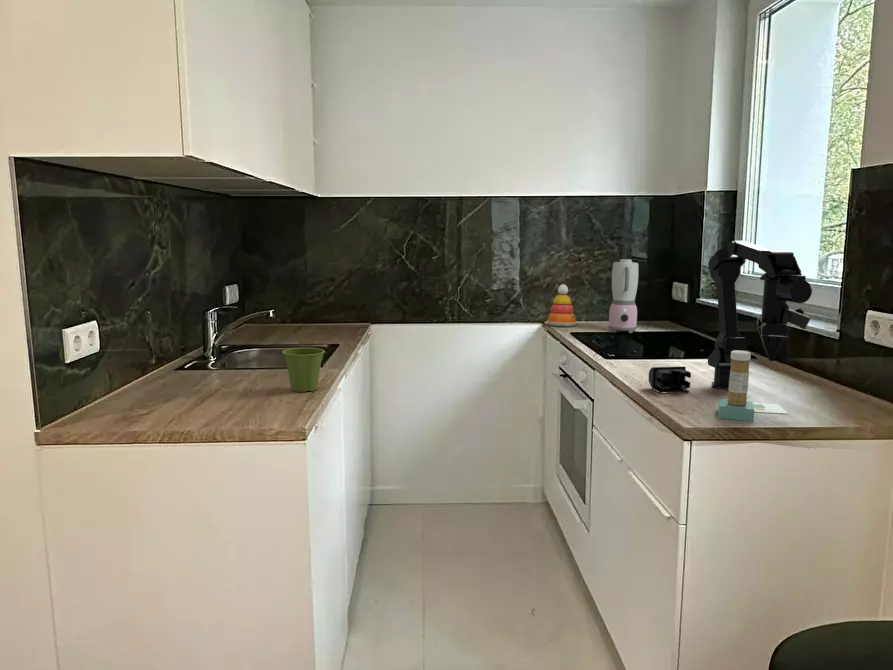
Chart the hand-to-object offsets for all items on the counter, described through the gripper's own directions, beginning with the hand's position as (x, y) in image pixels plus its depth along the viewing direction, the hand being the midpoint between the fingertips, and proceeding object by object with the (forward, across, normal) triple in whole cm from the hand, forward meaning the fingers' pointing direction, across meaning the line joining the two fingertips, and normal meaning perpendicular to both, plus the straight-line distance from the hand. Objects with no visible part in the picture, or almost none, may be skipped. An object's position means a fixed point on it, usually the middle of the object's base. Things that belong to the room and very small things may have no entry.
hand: (769, 357), depth 179 cm
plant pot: (+13, -32, +122) cm, 127 cm away
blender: (+13, +114, +50) cm, 125 cm away
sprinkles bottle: (+10, -14, +8) cm, 19 cm away
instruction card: (+13, -4, +2) cm, 14 cm away
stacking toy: (+13, +121, +79) cm, 145 cm away
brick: (+13, -14, +8) cm, 21 cm away
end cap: (+13, +8, +25) cm, 30 cm away
